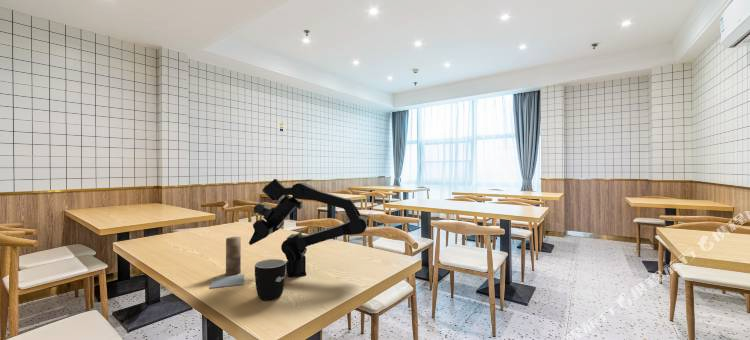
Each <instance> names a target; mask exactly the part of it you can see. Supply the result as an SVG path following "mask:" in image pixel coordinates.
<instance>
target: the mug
mask: <svg viewBox="0 0 750 340" xmlns="http://www.w3.org/2000/svg"><path fill="white" fill-rule="evenodd" d="M254 280H255V282H254V283H255V288H256V294H257V297H258V299H259V300H261V301H265V302H269V301H275V300H277V299H280V298H281V296H282V295H283V291H284V288H285V282H286V281H285V280H286V260H284V259H279V258H273V259H272V258H270V259H264V260H261V261H258V262H256V263H255V264H254Z"/></svg>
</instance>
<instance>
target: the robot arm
mask: <svg viewBox="0 0 750 340" xmlns="http://www.w3.org/2000/svg"><path fill="white" fill-rule="evenodd" d="M262 193H263V194H264V195H266V196H267V197H268V198H269V199H270V200H271V201H272V202H275V201H277V202H278V203H277V204H276V206H274V207H271V206H269V205H267V204H265V203H261V202H259V203H256V204H255V205H254V206H253V210H252V211H253V212H252V213H254V214H258V215H260V216H263V217H262V218H263V219H258V220H256V221H255V222H254V223H253V224H252V228H253V230H254V231H253V234H252V236H251V238H250V240H249V241H248V244H249V245H250V246H253V245H254V244H256V243H259V241H261V240H264V239H266V238H267V237H269V236H270V235H272V234H274V233H275V232H278V230H280V229H282V228H283V226H284V225H285V220H286V219H288V218H289V215H291V214H292V212H293V211H294V210H295V209H298V210H301V209H303V200H305V201H315V202H318V203H323V204H325V205H329V206H332V207H336V208H339V209H342V210H344V212H345V214H346V216H347V218H348V220H347V221H345V222H344V223H342V224H341V223H340V224H338V225H335V226H332V227H329V228H326V229H323V230H322V229H321V230H319V231H316V232H312V233H309V234H303V233H302V231H300V232H297V233H294V234H293V233H291V234H290V235H289V236H287V237H286V239H285V240H284V241H282V243H281V246H280V249H281V250H280V251H282V253H283V254H284V255H285V258H286V260H285V262H286V273H285V275H287V277H288V278H293V277H301V276H303V277H304V276H307V272H306V269H307V268H306V265H307V264H306V260H307V259H306V253H307V250H308V249H307V247H309V246H313V245H315V244H319V243H322V242H325V241H329V240H332V239H336V238H338V237H341V236H354V235H362V234H364V232H366V229H367V226H368V220H367V219H366V217H365V216H363V215H361V213H360V211H359V210H358V208H357V206H356V205H355V203H354V201H353V199H351V198H346V197H343V196H338V195H335V194H332V193H329V192H326V191H322V190H319V189H317V188H315V187H313V186H311V185H310V184H307V183H305V182H298V183H295V184H293V185H292V187H290V186H287V187H286V186H284V185H283V183H281V182H280V180H279V179H278V178H274V179H273V180H272V181H270V182H269V183H268V184H266V185H265V186H264V187H262ZM291 196H292V197H291ZM299 200H300V201H299ZM301 200H302V201H301Z"/></svg>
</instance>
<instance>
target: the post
mask: <svg viewBox="0 0 750 340" xmlns="http://www.w3.org/2000/svg"><path fill="white" fill-rule="evenodd" d="M241 241H242V238H241V236H229V237H227V238H225V275H226V276H234V275H240V274H241V269H242V267H241V266H242V265H241V264H242V263H241V262H242V261H241V260H242V259H241V258H242V255H241V253H242V251H241V250H242V246H241V245H242V242H241Z"/></svg>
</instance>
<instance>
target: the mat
mask: <svg viewBox="0 0 750 340" xmlns="http://www.w3.org/2000/svg"><path fill="white" fill-rule="evenodd" d="M244 279H245V274H237V275H226V276H217V277H213V279H212V281H211V283H210V286H209V289H218V288H227V287H234V286H235V287H236V286H242V285H243V286H244V282H245V281H244Z"/></svg>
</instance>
